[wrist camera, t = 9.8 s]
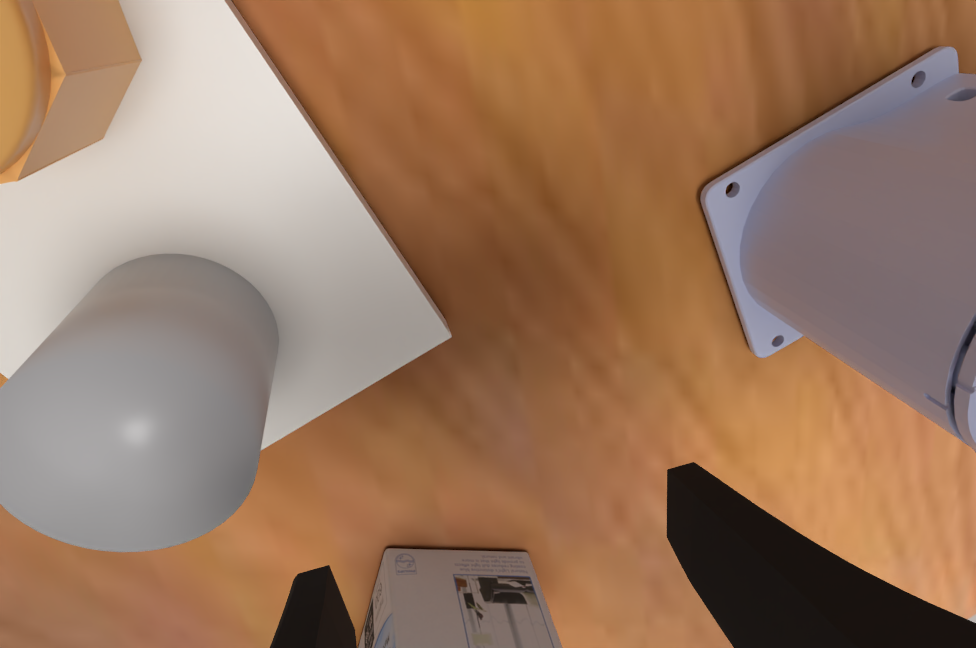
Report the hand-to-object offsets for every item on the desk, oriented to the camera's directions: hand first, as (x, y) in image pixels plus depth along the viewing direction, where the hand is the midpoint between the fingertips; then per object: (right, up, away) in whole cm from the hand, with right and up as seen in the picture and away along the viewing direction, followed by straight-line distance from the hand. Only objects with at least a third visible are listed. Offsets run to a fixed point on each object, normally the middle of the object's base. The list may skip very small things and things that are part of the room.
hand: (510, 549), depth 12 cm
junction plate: (-11, +8, +4) cm, 14 cm away
